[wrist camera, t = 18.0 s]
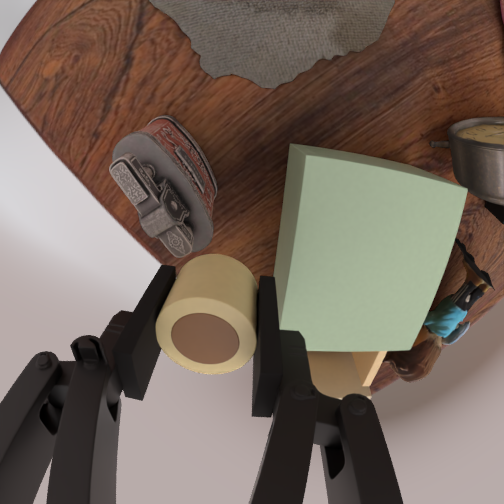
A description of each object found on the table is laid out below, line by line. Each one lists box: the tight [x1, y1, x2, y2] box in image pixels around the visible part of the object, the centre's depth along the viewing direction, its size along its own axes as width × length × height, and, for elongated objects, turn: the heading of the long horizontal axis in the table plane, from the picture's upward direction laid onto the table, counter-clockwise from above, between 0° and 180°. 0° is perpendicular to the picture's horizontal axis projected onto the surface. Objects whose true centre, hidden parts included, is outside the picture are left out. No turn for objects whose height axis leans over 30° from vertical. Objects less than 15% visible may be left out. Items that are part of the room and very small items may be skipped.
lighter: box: [109, 115, 218, 258], centre depth 18 cm, size 8×3×10 cm, turn 28°
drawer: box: [307, 351, 387, 399], centre depth 25 cm, size 16×9×7 cm, turn 175°
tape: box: [155, 254, 258, 374], centre depth 14 cm, size 4×4×4 cm
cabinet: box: [273, 143, 468, 352], centre depth 20 cm, size 13×11×9 cm
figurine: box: [382, 238, 494, 383], centre depth 25 cm, size 8×16×6 cm, turn 153°
